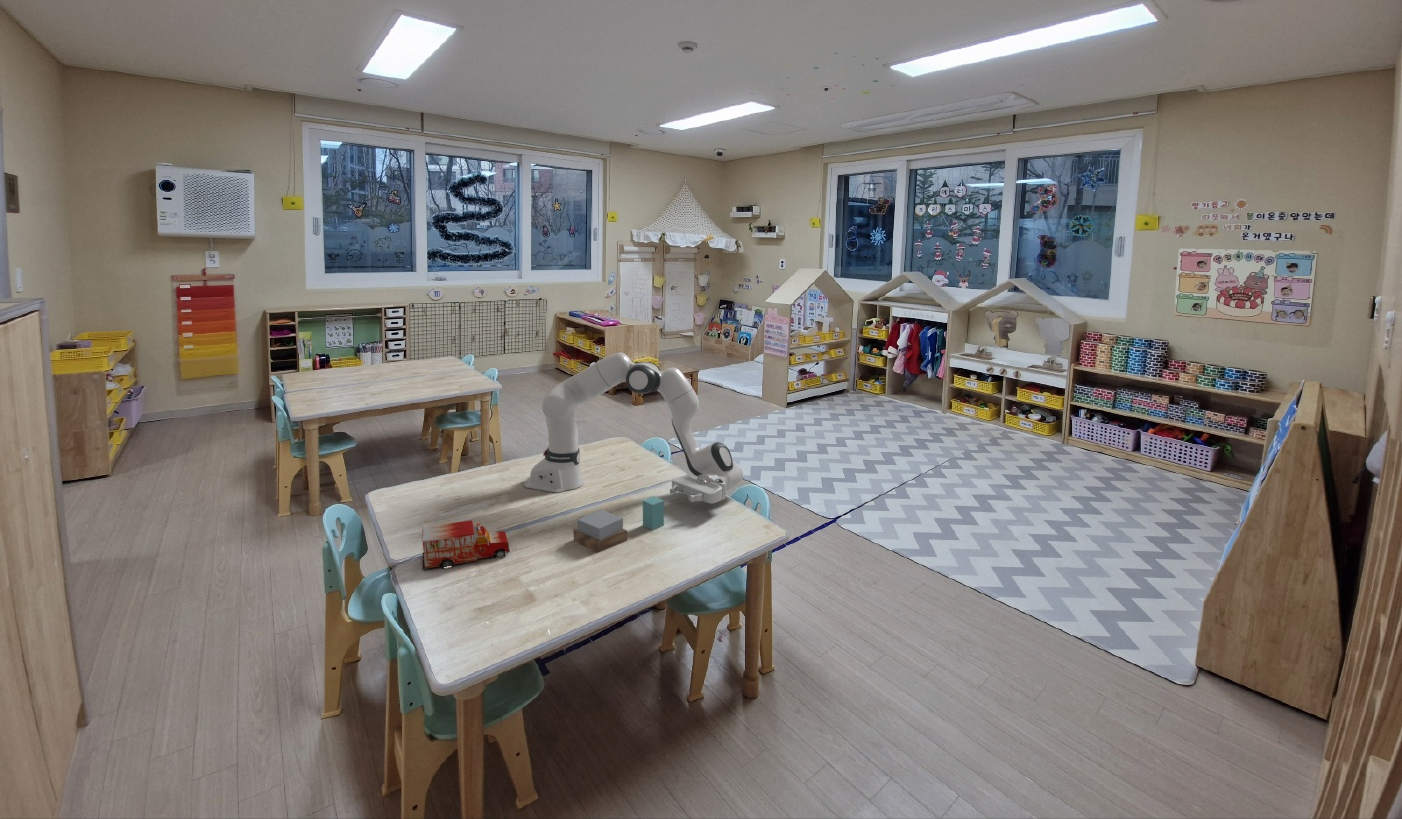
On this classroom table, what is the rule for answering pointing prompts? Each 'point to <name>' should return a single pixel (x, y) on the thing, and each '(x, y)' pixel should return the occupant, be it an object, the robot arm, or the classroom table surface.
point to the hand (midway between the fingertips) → (680, 495)
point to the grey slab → (600, 524)
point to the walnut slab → (600, 544)
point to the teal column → (653, 513)
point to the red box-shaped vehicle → (460, 544)
